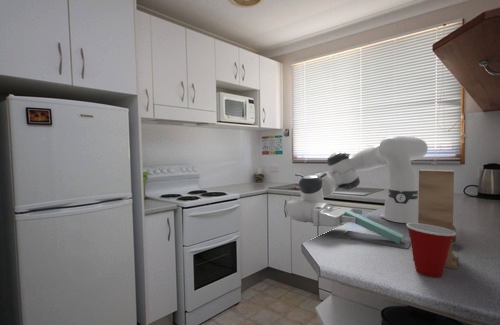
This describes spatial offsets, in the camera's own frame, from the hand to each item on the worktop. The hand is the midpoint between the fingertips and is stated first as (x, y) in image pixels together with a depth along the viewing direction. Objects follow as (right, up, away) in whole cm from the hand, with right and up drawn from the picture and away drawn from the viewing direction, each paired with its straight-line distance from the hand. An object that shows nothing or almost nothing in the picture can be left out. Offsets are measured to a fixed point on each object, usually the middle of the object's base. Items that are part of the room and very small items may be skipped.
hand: (358, 218), depth 101 cm
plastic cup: (+6, -8, -31) cm, 32 cm away
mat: (+5, -7, -3) cm, 9 cm away
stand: (+14, -7, -22) cm, 27 cm away
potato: (+27, -7, -6) cm, 28 cm away
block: (+3, -3, -3) cm, 5 cm away
